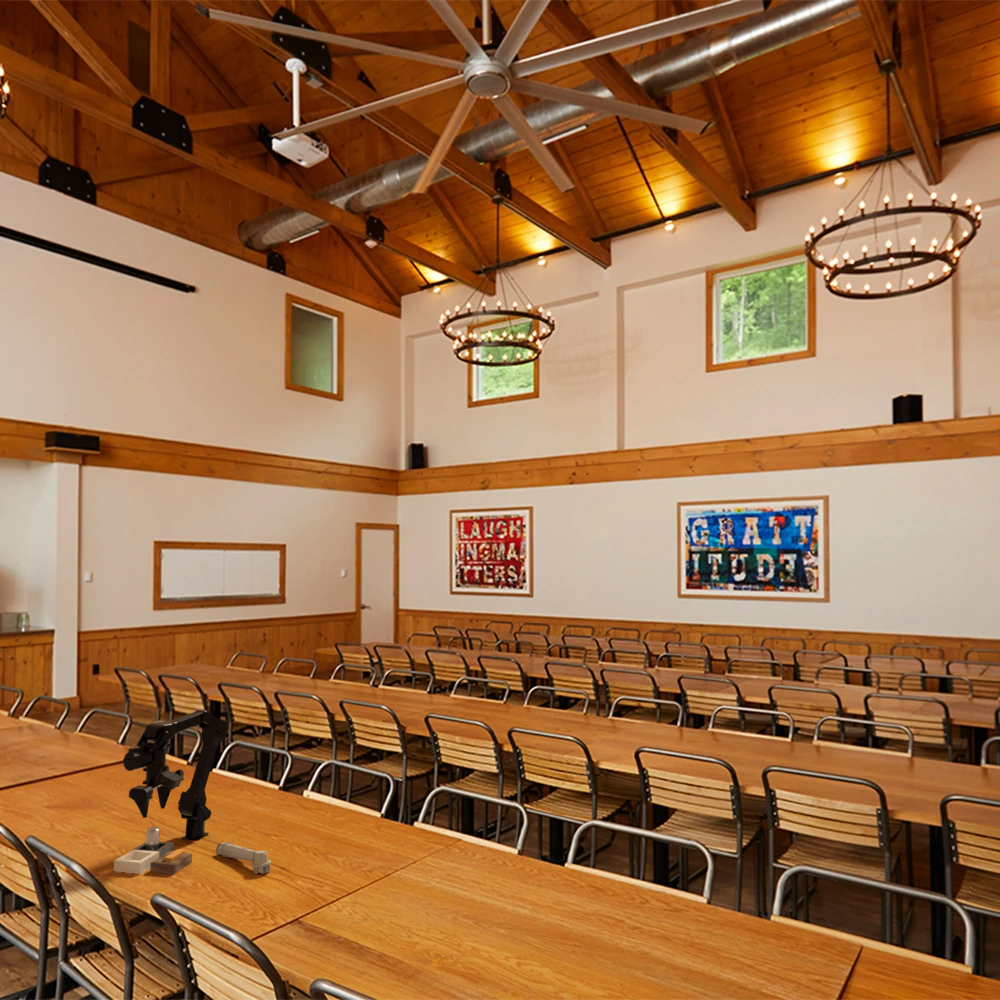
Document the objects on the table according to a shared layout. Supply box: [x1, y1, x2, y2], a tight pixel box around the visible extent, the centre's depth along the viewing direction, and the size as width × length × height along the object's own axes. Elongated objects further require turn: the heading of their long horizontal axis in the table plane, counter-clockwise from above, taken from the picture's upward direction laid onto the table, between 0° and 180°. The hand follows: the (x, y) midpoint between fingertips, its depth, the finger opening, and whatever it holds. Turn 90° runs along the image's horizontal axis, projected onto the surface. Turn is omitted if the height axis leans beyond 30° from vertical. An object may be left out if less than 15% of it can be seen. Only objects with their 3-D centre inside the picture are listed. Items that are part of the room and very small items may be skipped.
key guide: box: [149, 851, 193, 876], centre depth 238 cm, size 9×8×3 cm
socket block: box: [130, 841, 174, 857], centre depth 248 cm, size 9×9×2 cm
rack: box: [113, 849, 159, 875], centre depth 238 cm, size 9×9×4 cm
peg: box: [145, 826, 161, 851], centre depth 248 cm, size 4×4×8 cm
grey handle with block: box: [215, 841, 272, 875], centre depth 242 cm, size 5×7×25 cm
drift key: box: [165, 848, 186, 863], centre depth 239 cm, size 7×2×4 cm, turn 169°
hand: (154, 812), depth 249 cm, fingers open, 9 cm apart
